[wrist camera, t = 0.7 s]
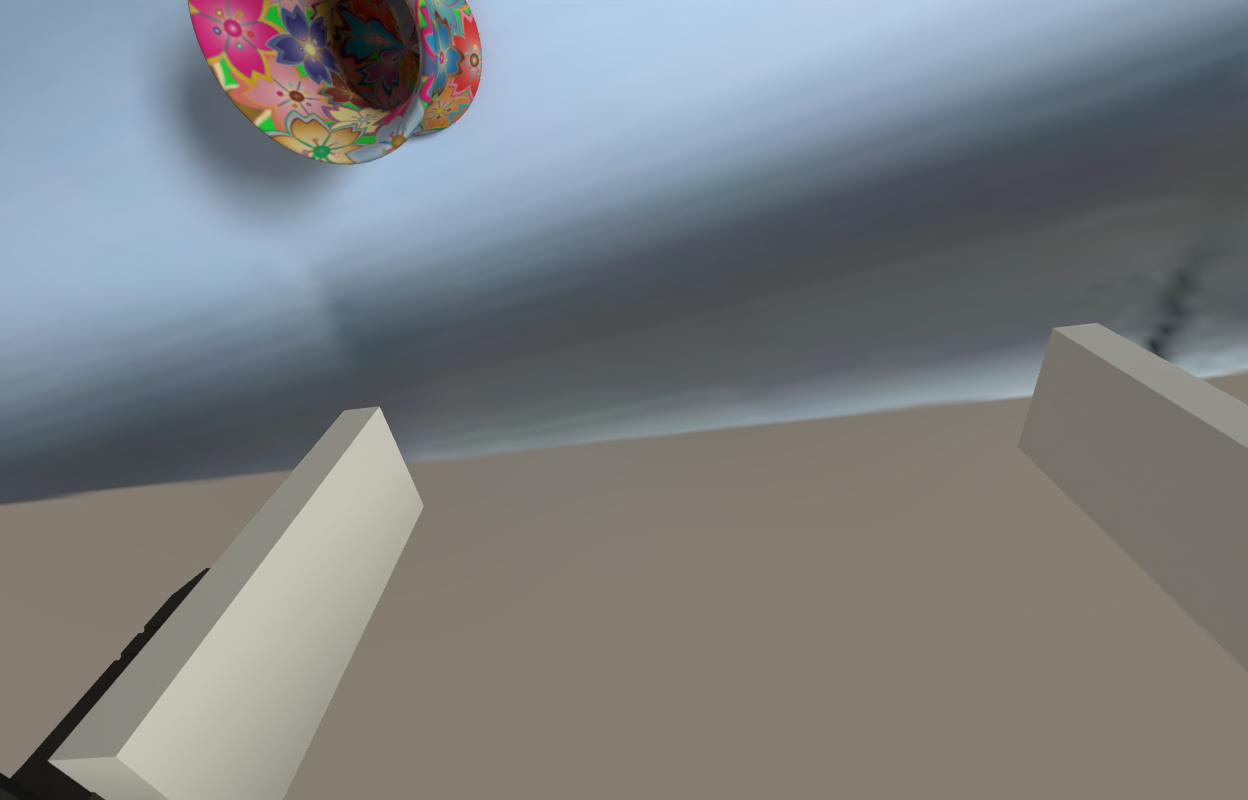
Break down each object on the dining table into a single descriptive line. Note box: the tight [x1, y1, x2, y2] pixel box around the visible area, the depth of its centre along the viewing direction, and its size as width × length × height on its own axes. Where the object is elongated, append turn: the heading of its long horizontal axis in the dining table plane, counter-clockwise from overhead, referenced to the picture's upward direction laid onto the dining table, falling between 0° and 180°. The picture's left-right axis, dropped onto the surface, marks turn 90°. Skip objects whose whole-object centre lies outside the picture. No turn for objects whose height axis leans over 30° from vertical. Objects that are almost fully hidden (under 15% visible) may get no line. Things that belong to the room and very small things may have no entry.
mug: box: [188, 0, 482, 165], centre depth 25 cm, size 12×9×11 cm
